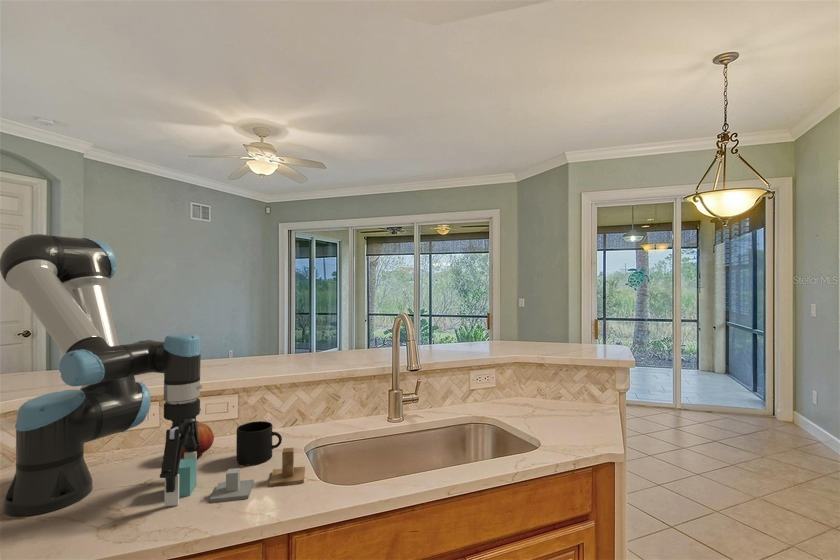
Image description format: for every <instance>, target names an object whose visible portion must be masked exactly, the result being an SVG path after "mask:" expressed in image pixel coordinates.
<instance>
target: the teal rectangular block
mask: <svg viewBox="0 0 840 560" xmlns="http://www.w3.org/2000/svg"><path fill="white" fill-rule="evenodd" d="M197 461H198V457H197V458H193V459H184V458H181V459H180V464H179V469H178V474H179V498H181V497H182V498H183V497H189V496H191V495H192V493H193V491H194V490H195V489H196V487H197V476H198V475H197V474H198V473H197V471H198V469H197V467H198V466H197V465H198V462H197Z"/></svg>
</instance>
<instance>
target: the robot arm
mask: <svg viewBox="0 0 840 560" xmlns="http://www.w3.org/2000/svg"><path fill="white" fill-rule="evenodd" d="M116 267H117V259H116V255H115V253H114V250H113V249H112V248H111V247H110V245H108V244H107V243H105V242H103V241H101V240H97V239H91V238H87V237H81V238H80V237H70V236H68V237H67V236H59V235H58V236H57V235H51V234H50V235H48V234H40V233H38V234H29V235H24V236H21V237H19V238H17V239H15V240H14V241H12V242H11V243H10V244H9V245H7V246H6V248H5V249H4V250H3V252H2V253H1V256H0V275H1V277H2V279H3V280H4V281H5V283H6V284H7V285H8V287H9V288H10V289H12V290H15V291H18V292H19V293H20V295H21V296H22V297H23V299H24V301H25V302H26V303H27V305H28V306H29V307H30V309H31V311H32V312H33V313H34V314H35V316H36V318H37V319H38V320H39V321H40V322H39V323H41V324H42V326H43V327H44V329H45V330H46V332H47V333H48V335H49V336H50V338H52V340H53V342H54V343H55V344H56V346H57V347H58V349H59V350H60V352H61V354H63V356H61V359H60V361H59V365H58V370H59V373H60V378H61V380H62V382H63V383H64V384H65V385H67V386H70V387H80V388H79V389H77V388H76V389H64V390H62V391H61V390H60V391H54V392H49V393H45V394H42V395H39V396H36V397H33V398H31V399H29V400H27V401H25V402H24V403H23V404H21V406H20V407H19V408H18V410H17V413H16V420H15V421H16V422H15V425H14V427H15V472H14V475H13V478H12V480H11V482H10V485H9V488H8V490H7V492H6V495H5V497H4V501H3V512H4V513H5V514H6V515H8V516H12V517H15V516H16V517H20V516H21V517H25V516H33V515H35V516H36V515H39V514H43V513H48V512H53V511H56V510H59V509H62V508H65V507H67V506H70V505H73V504H75V503H77V502H79V501H81V500H82V499H84V498H86V497H87V496H88V495H89V494H90V493H91V492H92V490H93V483H94V482H93V477H92V474H91V472H90V470H89V467H88V465H87V463H86V461H85V458H84V455H85V454H84V451H85V450H84V448H85V447H84V445H85V443H90V442H93V441H95V440H99V439H102V438H106V437H108V436H111V435H115V434H118V433H123V432H126V431H128V430H130V429H133V428H135V427H137V426H139V425H141V424H142V423H143V422H144V421H145V420H146V419H147V417H148V414H149V412H150V409H151V401H152V399H151V397H152V396H151V392H150V390H149V388H148V386H146V385H145V383H143V382H140V381H136V378H135V377H136V376H139V375H144V374H151V373H156V374H157V373H158V374H163V401H165V402H164V403H163V418H164V420H167V421H171V422H172V423H171V427H170V428H169V429H166V430H165V443H164V444H165V445H164V449H163V450H164V452H163V457H162V464H161V469H160V470H161V471H160V473H159V479H164V505H163V506H164V507H171V506H179V504H180V497H179V474H178V469H179V464H180V460H181V459H182V457H181V454H182V449H183V446H184V448H185V451H188V452H185V453H184V458H183V459H193V458H197V459H198V456H197V452H195V451H198V450H200V448H201V446H198V445H199V443H200V442H199V436H198V429H197V422H196V421H197V416H199V415H200V413H201V399H200V398H199V397H200V395H201V389H203V387H204V386H203V384H201V357H202V354H201V353H202V350H201V348H202V347H201V338H200V336H199V335H198V334H196V333H176V334H175V333H174V334H169V335H166V336H165V338H164V341H157V340H151V339H147V340H146V339H145V340H137V341H134V342H133V343H128V344H120V343H119V338H118V334H117V331H116V326H115V322H114V318H113V314H112V311H111V305H110V302H109V299H108V298H109V297H108V295H107V294H108V293H107V289H106V288H107V287H108V285H110V283H111V279H112V278H113V277H114V276H115V274H116V271H117V269H116ZM173 439H174V440H173Z"/></svg>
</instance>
